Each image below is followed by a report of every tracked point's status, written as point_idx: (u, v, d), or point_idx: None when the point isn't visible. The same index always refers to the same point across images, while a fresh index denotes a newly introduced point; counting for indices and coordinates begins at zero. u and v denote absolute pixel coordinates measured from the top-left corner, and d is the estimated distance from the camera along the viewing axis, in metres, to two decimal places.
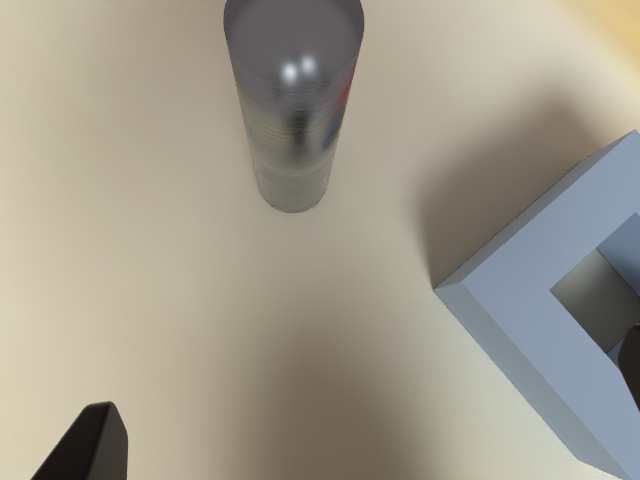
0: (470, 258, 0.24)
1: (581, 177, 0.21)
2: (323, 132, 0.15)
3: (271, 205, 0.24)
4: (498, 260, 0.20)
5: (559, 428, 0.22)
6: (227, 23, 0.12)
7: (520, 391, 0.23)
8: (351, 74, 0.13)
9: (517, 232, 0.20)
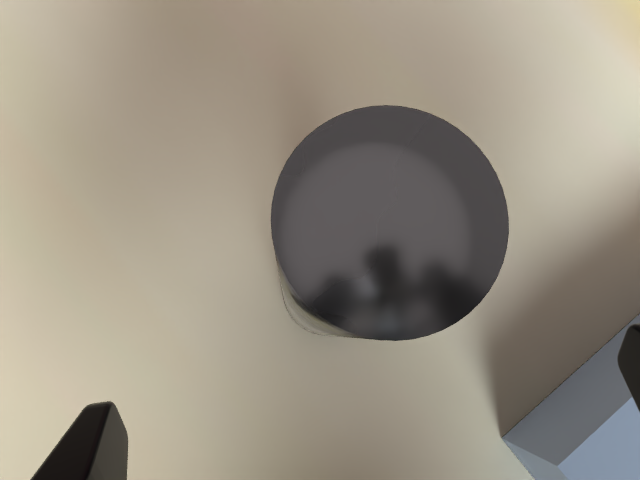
0: (550, 399, 0.19)
1: None
2: None
3: None
4: (606, 436, 0.15)
5: None
6: (277, 224, 0.07)
7: None
8: None
9: (630, 397, 0.15)
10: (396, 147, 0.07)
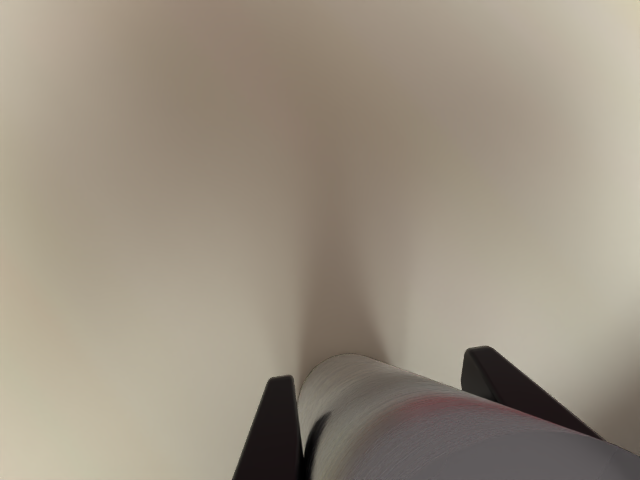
0: None
1: None
2: None
3: None
4: None
5: None
6: None
7: None
8: None
9: None
10: None
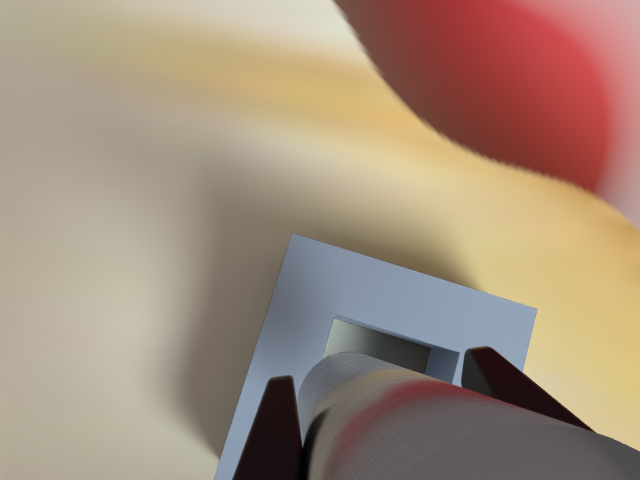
0: None
1: (267, 314, 0.19)
2: None
3: None
4: (233, 448, 0.18)
5: None
6: None
7: None
8: None
9: (237, 407, 0.19)
10: None
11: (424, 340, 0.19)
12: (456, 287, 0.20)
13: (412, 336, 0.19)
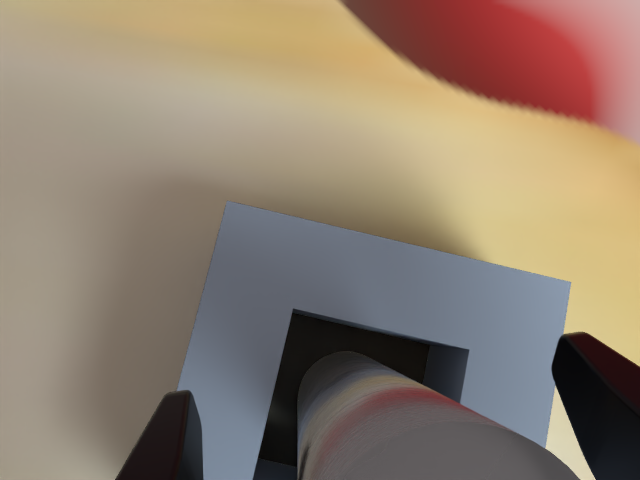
0: None
1: (197, 314, 0.14)
2: None
3: None
4: None
5: None
6: None
7: None
8: None
9: None
10: None
11: (419, 336, 0.14)
12: (458, 260, 0.14)
13: (402, 332, 0.14)
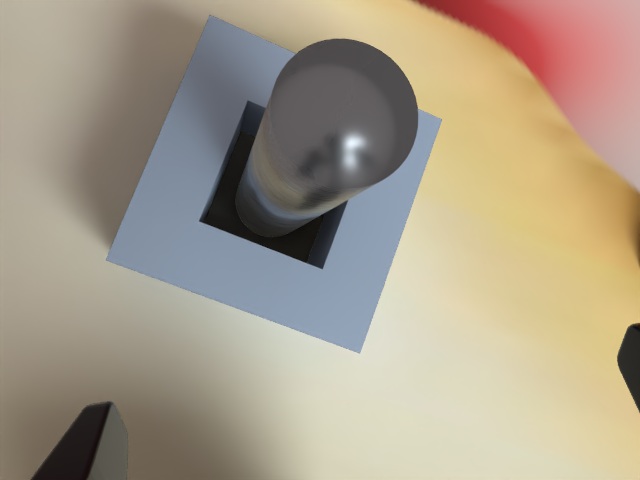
0: None
1: (178, 91, 0.19)
2: (337, 205, 0.14)
3: (245, 225, 0.23)
4: (133, 218, 0.18)
5: None
6: (274, 103, 0.11)
7: None
8: None
9: (140, 180, 0.18)
10: (356, 68, 0.11)
11: None
12: None
13: None
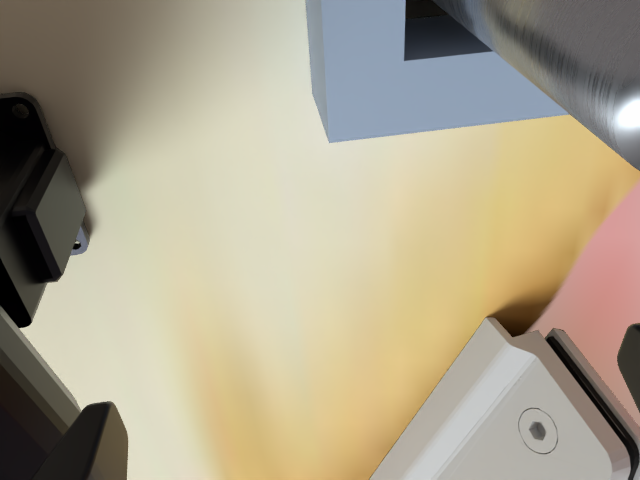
0: None
1: None
2: (530, 80, 0.11)
3: None
4: None
5: (312, 51, 0.18)
6: None
7: None
8: None
9: None
10: None
11: None
12: None
13: None
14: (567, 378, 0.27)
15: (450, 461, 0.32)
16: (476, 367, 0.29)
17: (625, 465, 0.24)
